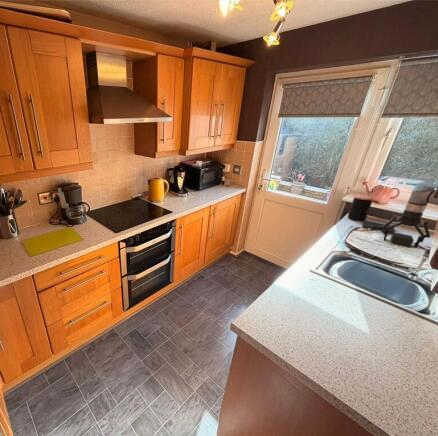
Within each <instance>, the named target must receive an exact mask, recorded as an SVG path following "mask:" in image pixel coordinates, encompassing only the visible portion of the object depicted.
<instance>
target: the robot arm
mask: <svg viewBox="0 0 438 436" xmlns="http://www.w3.org/2000/svg"><path fill="white" fill-rule="evenodd" d="M436 190H437V189H436V186H435V185H432V184H428V183H427V184H426V183H418V184H416V185H415V186H414V187H413V189H412V191H411V194H410V196H409V199H408V201H407V203H406V205H405V208H404V209H403V212H402V214H401V216H397V214H396V215H395V214H394V215H393V217H392V218H391V219H390V220H388V221H386V222H384V223H383V224H384V225H383V226H381V228H382V229H384V232H382V235H383V238H384V240H383V241H386V239H387V238H388V235H389V234H388V232H389V229H391V228H394V229H395V228H397V227H398V226H401V225H403V226H407V227H414V228H415V230H416V231H417V232H418V234H419V236H418V237H417V239H416V241H415V243H414V248H418V247H419V244H421V243H423V242H424V240H425V239H427V238H428V239H430V238H431V234H430V230H429V228H428V223H429V221H428V220H426V219H425V220H421V219H422V217H423V214H424V212H425V211H426V208H427V206H428V204H429V205H434V206H438V199H433V198H432V197H433V195H434V193H435V191H436ZM397 220H399V221H397ZM395 221H397V222H395ZM393 222H395V223H393ZM392 223H393V224H392ZM418 224H421V225H423V229H424V232H425V234H424V233H423V231H422V229H421V228H420V226H419V225H418ZM388 225H390V226H388ZM387 226H388V227H387Z"/></svg>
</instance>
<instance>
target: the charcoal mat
mask: <svg viewBox="0 0 438 436" xmlns="http://www.w3.org/2000/svg"><path fill="white" fill-rule="evenodd" d="M384 224H385V223H381V222H375V221H370V220H363V221H362V226H361V228H362V227H363V228H370V229H373V230H376V231H380V232H381V233H383V232H384V229H382V228H381V226H383V225H384ZM390 225H391V224H389V225H388V226H390ZM388 226H387V227H388ZM363 228H362V229H363ZM393 232H395V233H396V229H395V227H394V228H391V229H389V232H388V235H392V234H393Z"/></svg>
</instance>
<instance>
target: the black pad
mask: <svg viewBox="0 0 438 436" xmlns="http://www.w3.org/2000/svg"><path fill="white" fill-rule="evenodd" d="M413 242H414V238H413V235H409V234H404V233H399V232H396V231H395V232H393V234H391V237H390V244H391V243H393V244H392V245H395V244H397V246H400V245H401V246H400V247H405V248H411V247H412V245H413Z"/></svg>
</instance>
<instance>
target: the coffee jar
mask: <svg viewBox="0 0 438 436" xmlns="http://www.w3.org/2000/svg"><path fill="white" fill-rule="evenodd" d="M373 200H374V197H372V196H368V195H360V194H355V195H354V196H353V198H352V202H351V205H350V209H349V211H348V215H347V218H348V219H349V220H351V221H354V222H363V220H365V221H367V217H368V214H369V211H370V209H371V206H372V203H373Z"/></svg>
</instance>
